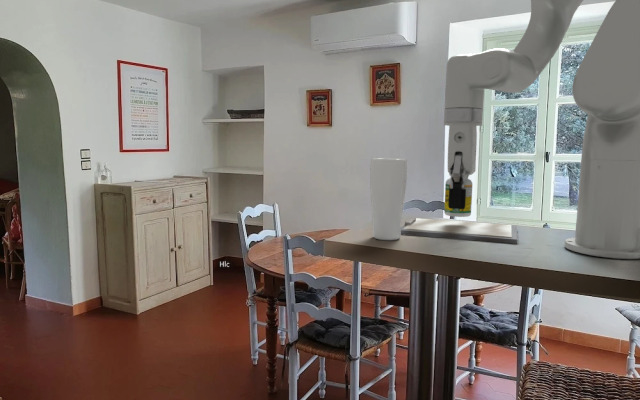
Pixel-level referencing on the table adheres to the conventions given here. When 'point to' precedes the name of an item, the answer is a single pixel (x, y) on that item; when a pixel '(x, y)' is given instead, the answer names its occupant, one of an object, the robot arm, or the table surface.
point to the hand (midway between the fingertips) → (458, 205)
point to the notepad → (461, 230)
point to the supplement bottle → (468, 201)
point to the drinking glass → (387, 196)
